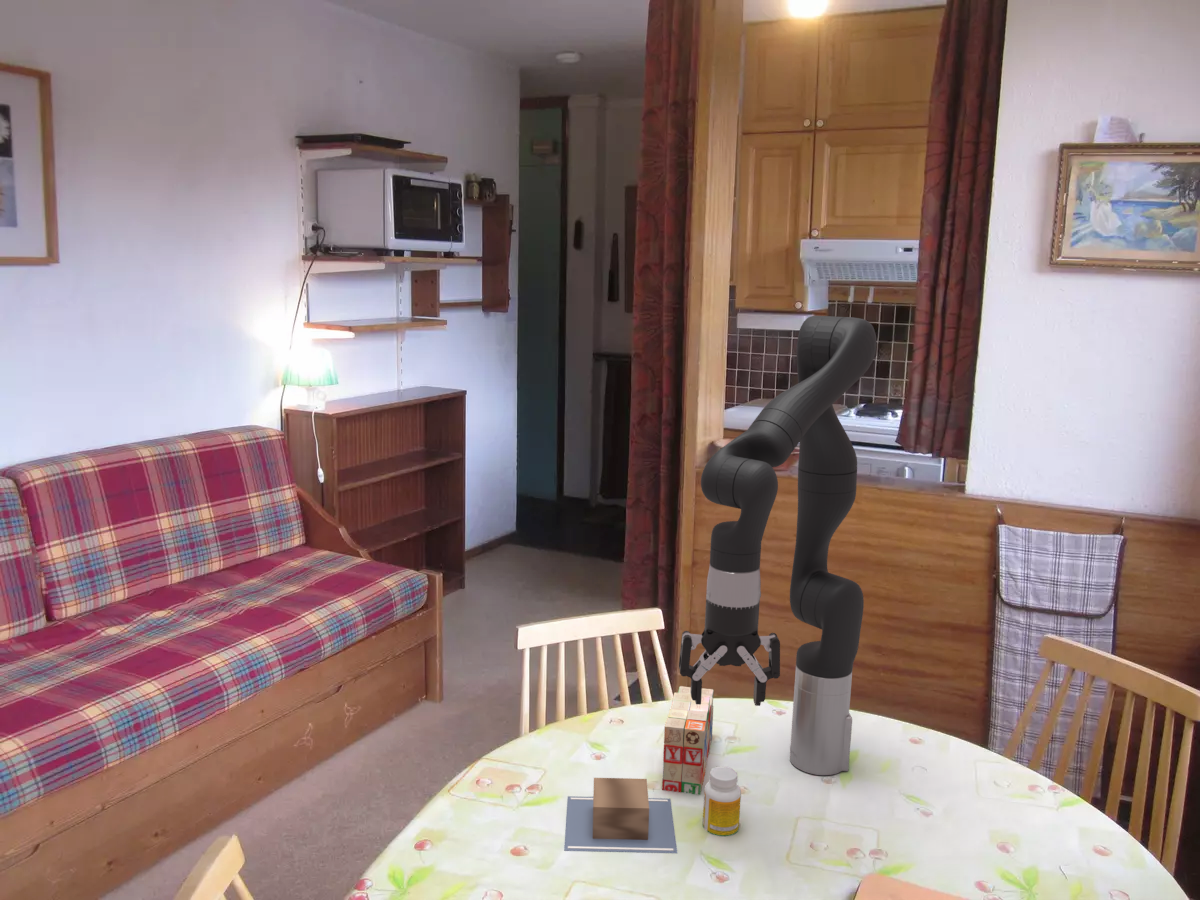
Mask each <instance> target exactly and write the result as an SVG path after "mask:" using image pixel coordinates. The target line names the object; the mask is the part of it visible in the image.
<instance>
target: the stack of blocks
mask: <svg viewBox="0 0 1200 900" xmlns="http://www.w3.org/2000/svg"><path fill="white" fill-rule="evenodd" d="M713 721H714V689H713V688H703V687H702V694H701V704H696V702H695V700H692V697H691V686H683V685H680V686H679V687H678V691H677V692H673V697H672V702H671V706H670V708H669V710H668V715H667V718H666V721H665V724H664V733H663V734H664V735H663V736H664V737H663V743H664V744H663V754H662V755H663V757H662V758H663V759H662V761H663V762H662V763H663V764H662V765H663V767H662V769H663V770H662V780H661V791H668V792H674V793H675V792H677V793H684V794H685V793H686V794H691V795H698V796H701V794H702V790H703V789H702V788H703V785H704V781H705V776H706V771H707V762H708V757H709V753H710V751H711V746H712V739H713V725H714V724H713V723H714V722H713Z"/></svg>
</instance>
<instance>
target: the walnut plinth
mask: <svg viewBox="0 0 1200 900" xmlns="http://www.w3.org/2000/svg"><path fill="white" fill-rule="evenodd" d="M592 797H593V839H631V840H648V828H649V800H648V798H649V791H648V780H647V778H631V777H629V778H625V777H624V778H623V777H593V796H592Z"/></svg>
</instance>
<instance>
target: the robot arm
mask: <svg viewBox="0 0 1200 900" xmlns="http://www.w3.org/2000/svg"><path fill="white" fill-rule="evenodd" d="M874 328H875V327H874V326H873V325H872V323H871V322H870V321H868V320H866V319H864V318H859V317H853V316H834V315H833V316H832V315H831V316H830V315H812V316H809V317H807V318H806V319H805V320H804V321H803V322H802V324H801V326H800V328H799V332H798V335H797V342H796V366H797V367H796V371H797V383H796V384H795V385H792V386H791V387H789V388H788V389H786V390H784V391H783V392H781V393H779V394H778V395H776V396H775V397H773V399H771V400H770V401H769V402H768V403H767V404H766V405H765V406H764V407H763V408H762V409H761V411H760V412H759V413H758V415H757V416H756V417H755V419H754V420H753V421H752V423H751V424H750V425H749V427H748V428H747V430H745V431H744V432H742V433H741V434H739V435H738V436H736V437H735V438H734V439H732V440H731V441H729V442H728V443H727V444H725V445H724V446H723V447H722V448H720V449H719V450H717V451H716V452H715V453H714V454H713V455H712V456H711V457H710V458H709V460H708V461H707V462H706V464H705V465H704V468H703V470H702V473H701V477H700V487H701V491H702V494H703V495H704V497H705V498H706V500H708V501H709V502H710V503H711V502H712V503H714V504H717V505H721V506H725V507H730V508H735V509H739V510H740V515H739V518H738V520H732V521H731V520H730V521H722V522H719V523H716V524H715V525H714V527H713V528H712V530H711V537H710V549H709V568H708V572H707V577H706V579H707V580H706V591H705V593H706V595H705V616H704V629H703V631H702V633H701V634H699V633H698V634H697V633H691V632H690V631H689V630H684V631H683V632H682V634H681V641H680V652H679V661H678V669H679V674H680V676H682V677H688V678H689V679H690V687H691V697H692V700H695V702H696V704H701V694H702V688H703V679H702V677H703V676H705V674H706V673H707V672H710V670H711V669H712V668H713V667H714V666H715V665H716V664H717V665H718V666H719V667H720V666H721V667H726V666H730V665H731V666H734V667H742V665H745V664H746V665H747V667H748V668H749V670H750V671H751V672H752V673H753V674H754V675H755V676H754V681H753V697H752V698H753V704H754V706H755V707H756V706H757V707H758V706H759V707H761V705H762V703H765V700H766V691H767V682H768V680H770V679H778V678H780V676H781V641H780V639H779V637H778V635H777V634H776V633H775V632H771V633H770V634H769V635H759V619H760V618H759V615H760V603H761V600H760V599H761V596H762V591H761V590H762V588H761V587H762V586H761V583H762V582H761V553H762V541H763V537H764V533H765V531H766V528H767V524H768V519H769V517H770V514H771V511H772V509H773V507H774V503H775V500H776V499H777V494H778V490H779V482H778V476H777V474H776V471H775V469H774V468H777V467H779V466H781V465H784V463H785V462H786V461H787V460H788V458H789V457H790V456H791V454H792V453H793V452H794V451H795V449H796V448H797V446H798V445H799V451H798V462H797V466H798V467H797V515H796V516H797V519H796V533H795V534H796V536H795V544H794V545H795V546H794V554H793V562H792V570H791V579H790V585H789V604H790V609H791V612H792V614H793V616H794V617H795V618H796V619H797V620H799V621H801V622H803V623H805V624H808V625H810V626H811V627H812V626H813V627H815V628H817V629H819V630H822V631H821V638H820V640H817V641H816V640H815V641H810V642H806V643H803V644H801V645H800V646H799V647H798V648H797V651H796V655H795V656H796V657H795V673H794V674H795V675H794V685H793V686H794V687H793V690H794V691H793V703H792V718H791V720H792V721H791V731H790V744H789V745H790V746H789V761H790V763H791V765H792V766H794V767H795V768H796V769H799V770H800V771H802V772H805V773H808V774H811V775H817V776H832V775H835V774H839V773H841V772H848V771H849V768H850V767H849V766H850V757H851V755H850V753H851V741H852V729H853V717H852V716H851V714H850V705H851V704H850V703H851V693H852V683H853V682H852V680H853V679H852V677H853V667H854V662H855V659H856V656H857V653H858V651H859V645H860V637H861V636H860V635H861V628H862V624H863V623H862V622H863V617H864V615H863V614H864V607H865V606H864V601H865V600H864V593H863V590H862V587H861V586H860V585H859V584H858V582H856V581H854V580H851V579H849V578H846V577H843V576H840V575H837V574H834V573H831V572H829V570H828V555H829V548H830V547H829V546H830V543H831V541H832V537H833V536H834V534H835V533H836V531H837V530H838V528H839V526H840V525H841V524H842V523H843V521H844V520H845V519H846V517H847V515H848V514H849V512H850V511H851V509H852V508H853V505H854V503H855V501H856V496H857V484H858V483H857V482H858V481H857V479H858V457H857V452H856V450H855V448H854V445H853V443H852V441H851V440H850V437H849V435H848V433H847V432H846V430H845V429H844V427H843V425H842V422H841V421H840V418H839V417H838V415H837V413H836V411H835V409H834V406H833V404H835V403H836V401H838V400H839V399H840V398H841V397H842V396H844V394H845V393H846V392H847V391H848V390H849V389H851V387H852V386H853V385H855V383H856V382H858V381H859V380H860V379H861V378H862V376H864V374H866V372H867V371H868V370H869V368H870V366H871V365H872V363H873V361H874V359H875V356H876V351H877V335H876V334H877V333H876V332H875V331H876V330H875V329H874ZM699 644H701V645H702V647H703V649H704V651H703V652H702V654H700V656H699V658H698V659H697V661H696V662H695V663H694V664H693V665H691V664H690V663H691V662H690V661H691V653H692V650H696V648H697V646H698V645H699ZM760 646H763V647H764V649H765V651H766V652H768V666H766V667H763V666H762V665H761V664H760V663H759V660H757V658H756V656H755V652H757V650H758V649H759V648H760Z"/></svg>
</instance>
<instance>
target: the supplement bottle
mask: <svg viewBox="0 0 1200 900" xmlns="http://www.w3.org/2000/svg"><path fill="white" fill-rule="evenodd" d="M741 798H742V791H741V787H740V786H739V784H738V771H736V770H735V769H734V768H732V767H729V766H724V765H721V766H715V767H712V768H711V769H710V771H709V781H708V782H707V783H706V784H705V786H704V793H703V810H702V811H703V812H702V827H703V829H704V830H705V831H706V832H707V833H709V834H711V835H713V836H717V837H718V836H719V837H730V836H733V835H735V834H736V833H738V831H739V828H740V816H741V813H740V812H741Z"/></svg>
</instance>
